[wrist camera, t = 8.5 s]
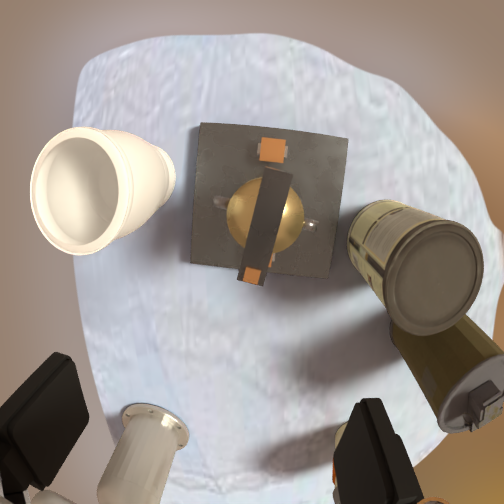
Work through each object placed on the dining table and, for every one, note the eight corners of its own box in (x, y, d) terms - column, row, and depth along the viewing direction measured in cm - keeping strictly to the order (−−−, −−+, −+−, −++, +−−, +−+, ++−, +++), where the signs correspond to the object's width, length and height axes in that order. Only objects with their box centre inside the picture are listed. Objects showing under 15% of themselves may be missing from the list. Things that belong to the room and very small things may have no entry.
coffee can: (434, 232, 35) (500, 267, 21) (387, 293, 38) (432, 353, 24) (380, 180, 34) (439, 194, 20) (329, 248, 36) (359, 298, 23)
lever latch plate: (325, 272, 37) (339, 305, 29) (194, 257, 38) (172, 286, 29) (344, 139, 33) (367, 133, 24) (204, 124, 33) (182, 113, 24)
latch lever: (327, 182, 25) (347, 190, 18) (303, 265, 27) (312, 299, 21) (225, 156, 25) (209, 154, 18) (206, 241, 27) (185, 267, 21)
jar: (132, 235, 37) (65, 277, 23) (94, 168, 35) (14, 178, 21) (201, 191, 35) (154, 212, 21) (158, 119, 33) (92, 98, 19)
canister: (382, 307, 38) (447, 410, 19) (446, 275, 36) (536, 351, 17) (397, 364, 41) (446, 464, 21) (454, 335, 39) (521, 418, 20)
